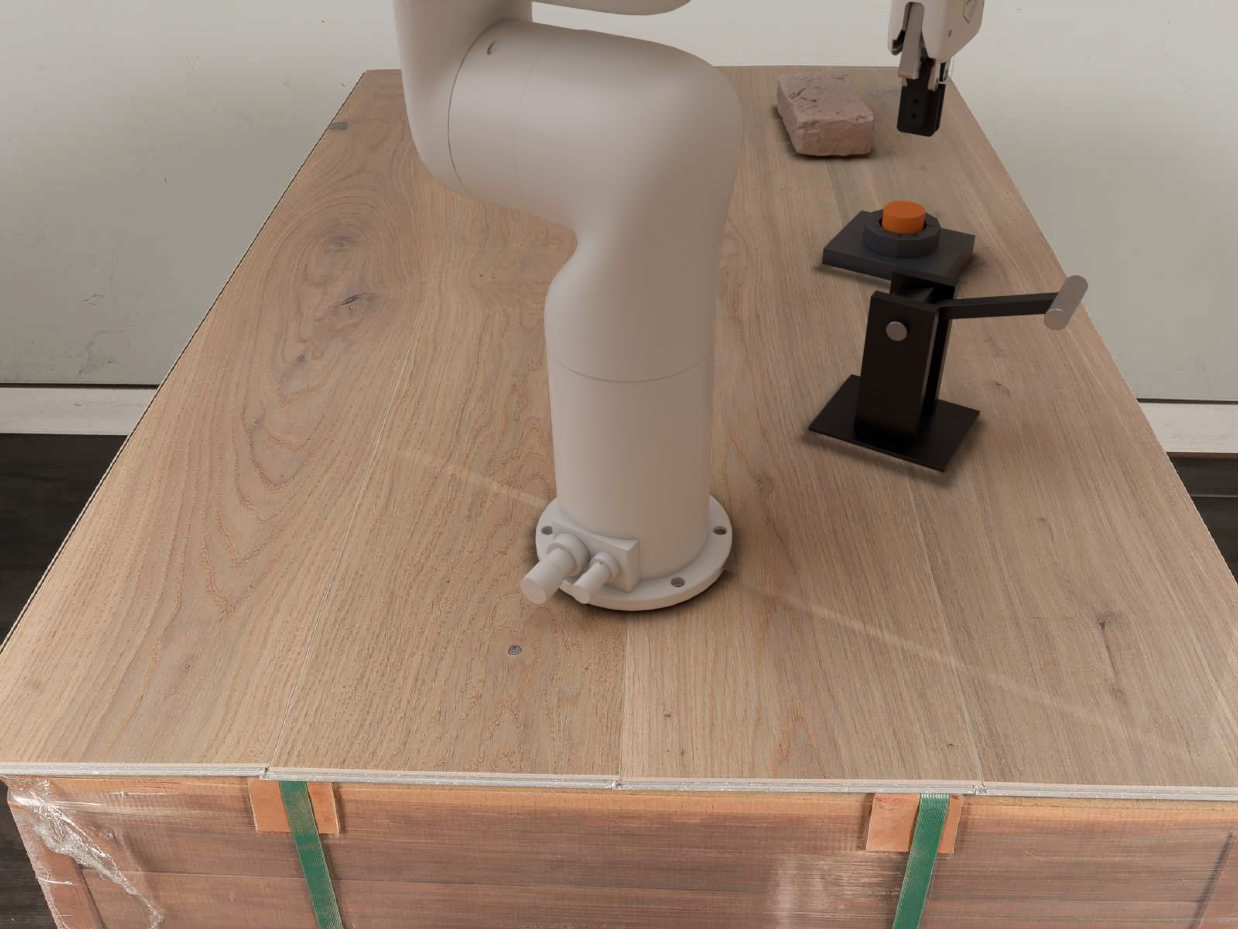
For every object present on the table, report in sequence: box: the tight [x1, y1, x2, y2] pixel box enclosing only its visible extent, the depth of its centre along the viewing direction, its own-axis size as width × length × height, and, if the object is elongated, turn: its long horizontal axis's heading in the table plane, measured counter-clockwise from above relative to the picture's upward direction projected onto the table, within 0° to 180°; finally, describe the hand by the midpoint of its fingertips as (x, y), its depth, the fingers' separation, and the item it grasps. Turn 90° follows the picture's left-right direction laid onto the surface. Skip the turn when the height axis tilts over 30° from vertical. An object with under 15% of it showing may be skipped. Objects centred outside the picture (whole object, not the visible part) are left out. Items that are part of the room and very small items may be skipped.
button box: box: [821, 208, 976, 282], centre depth 100 cm, size 11×9×4 cm
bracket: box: [807, 266, 981, 473], centre depth 78 cm, size 10×8×12 cm
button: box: [882, 200, 927, 234], centre depth 99 cm, size 4×4×2 cm
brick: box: [776, 70, 875, 157], centre depth 126 cm, size 17×8×5 cm, turn 2°
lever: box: [892, 274, 1089, 331], centre depth 72 cm, size 12×5×2 cm, turn 58°
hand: (917, 130), depth 94 cm, fingers closed
